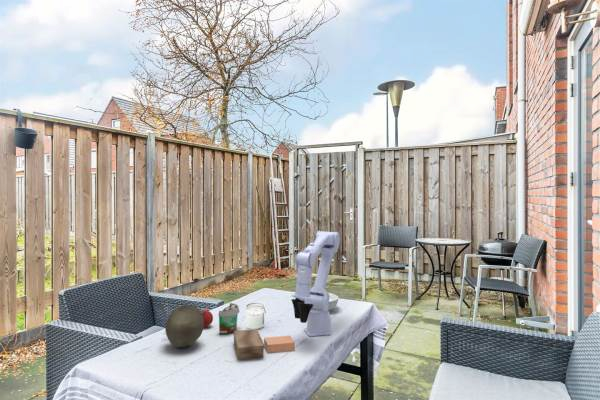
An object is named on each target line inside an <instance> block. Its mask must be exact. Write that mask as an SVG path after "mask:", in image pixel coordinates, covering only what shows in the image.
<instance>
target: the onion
mask: <svg viewBox="0 0 600 400" xmlns="http://www.w3.org/2000/svg"><path fill="white" fill-rule="evenodd" d="M201 312H202V315H203V318H204V327H203V328H208V327H209V326H210V325H211V324H212V323H213V321H214V320H213V319H214V315H213V313H212V312H211V311H209V308H205V309H204V310H203V311H201Z"/></svg>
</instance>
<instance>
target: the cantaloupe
mask: <svg viewBox="0 0 600 400" xmlns="http://www.w3.org/2000/svg"><path fill="white" fill-rule="evenodd" d="M202 312H203V311H202V310H201V309H199V307H197V306H195V305H190V304H189V305H188V304H185V305H180V306H178V307H176V308H175V309H173V310H172V311H171V313H170V314H169V315H168V318H167V319H166V322H165V325H164V326H165V329H164V330H165V334H166V335H165V336H166V337H167V339H168V341H169V343H170V344H172V345H173V346H174V347H176V348H187V347H189V346H192V345H193V344H194V343H195V342H197V340H198V339H199V338H201V336H202V334H203V330H204V328H205V327H204V318H203V315H202Z"/></svg>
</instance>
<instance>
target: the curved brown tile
mask: <svg viewBox="0 0 600 400" xmlns="http://www.w3.org/2000/svg"><path fill="white" fill-rule="evenodd" d="M233 348H234V351H235V354H236V359H237V360H246V359H247V360H249V359H256V358H264V349H265V345H264V340H263V339H262V337H261V334H260V332H259V330H258V329H255V328H254V329H252V328H251V329H244V330H243V329H242V330H241V329H240V330H236V331H234V333H233Z"/></svg>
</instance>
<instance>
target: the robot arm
mask: <svg viewBox="0 0 600 400" xmlns="http://www.w3.org/2000/svg"><path fill="white" fill-rule="evenodd" d="M340 236H341V235H340V233H339V231H322V230H321V231H320V230H318V231H317V232H316V233H315V240H314V241H313V242H310V243H309V244H308V245H307V247H306V248H305V249H304V250H303V251H299V252H298V253H297V254H296V256H295V271H296V280H295V281H296V282H295V292H294V294H291V297H293V298H292V299H291V302H292V306H293V312H294V313H293V314H294V319H299V321H300V323H303V324H304V323H305V324H306V328H303V331H304V332H305V333H306V334H307V336H308V337H318V336H328V335H329V336H331V335H332V333H331V323H332V321H331V319H332V318H331V312H330V310H329V311H327V310H328V307H329V298H330V296H329V293H330V292H328V291H327V290H326V288H327V287H326V286H327V282H328V278H329V273H330V271H331V270H330V269H331V265H332V261H333V258H334V254H336V253H338V250H339V247H340V244H341V243H340V241H341V238H340ZM320 254H321V257H320V261H319V265H318V269H317V272H316V277H315V279H314V284H313V286H312V277H313V276H312V275H313V269H314V267H315V265H316V263H317V258H318V257H319V256H320ZM311 286H312V287H311Z"/></svg>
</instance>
